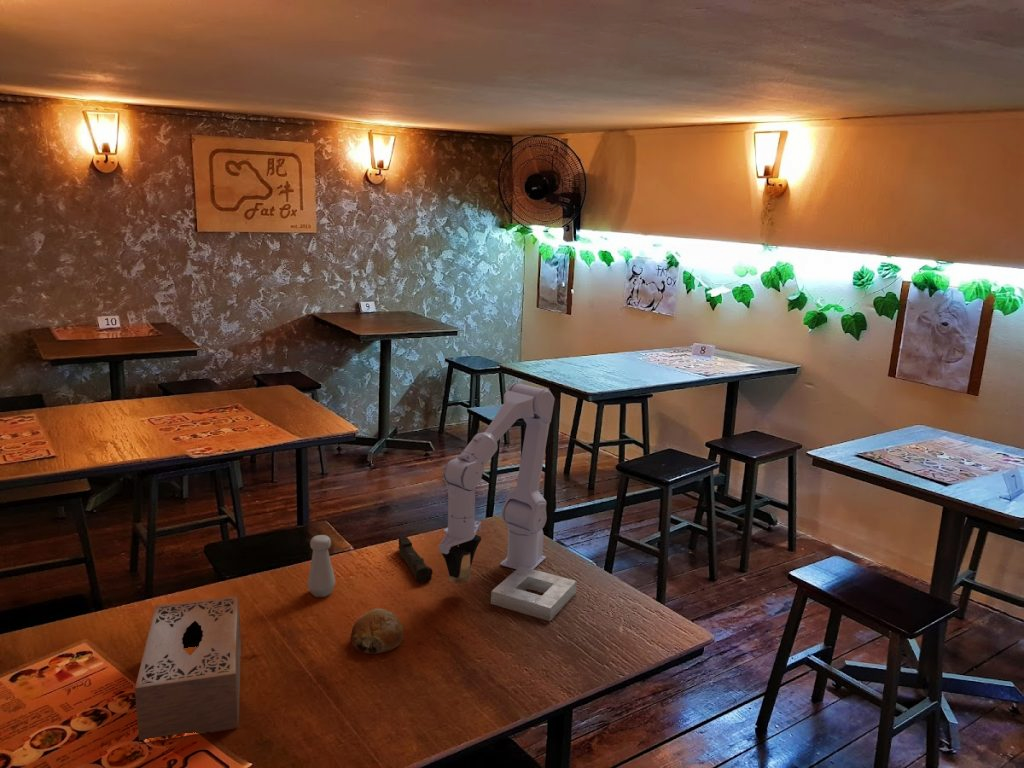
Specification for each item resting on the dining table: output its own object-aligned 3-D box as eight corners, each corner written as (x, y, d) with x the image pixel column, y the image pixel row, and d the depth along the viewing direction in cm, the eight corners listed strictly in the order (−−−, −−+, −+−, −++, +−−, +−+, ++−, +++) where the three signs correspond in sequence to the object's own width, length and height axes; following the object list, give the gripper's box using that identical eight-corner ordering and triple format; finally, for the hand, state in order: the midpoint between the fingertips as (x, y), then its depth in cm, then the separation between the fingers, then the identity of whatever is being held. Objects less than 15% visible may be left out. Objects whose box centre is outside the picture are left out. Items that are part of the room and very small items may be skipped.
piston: (456, 572, 169) (457, 547, 167) (473, 577, 167) (474, 552, 165) (446, 580, 165) (446, 554, 163) (463, 585, 163) (463, 559, 161)
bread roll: (406, 662, 147) (420, 622, 148) (367, 660, 139) (382, 618, 140) (375, 641, 153) (388, 603, 154) (336, 639, 146) (350, 599, 147)
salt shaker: (340, 591, 166) (340, 536, 163) (321, 602, 161) (320, 545, 158) (321, 583, 169) (321, 529, 166) (302, 594, 164) (300, 538, 161)
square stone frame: (520, 577, 175) (520, 565, 174) (575, 593, 169) (576, 580, 168) (491, 603, 163) (491, 591, 162) (549, 621, 157) (550, 608, 156)
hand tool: (432, 583, 172) (433, 564, 171) (415, 585, 170) (416, 566, 169) (411, 549, 189) (411, 531, 188) (395, 551, 187) (395, 533, 186)
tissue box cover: (158, 654, 140) (155, 605, 138) (241, 643, 145) (238, 595, 143) (139, 745, 117) (134, 688, 114) (238, 728, 121) (235, 673, 119)
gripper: (462, 499, 170) (461, 554, 173) (427, 521, 158) (426, 580, 161) (489, 505, 167) (488, 562, 170) (455, 528, 155) (454, 588, 158)
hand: (460, 571), depth 165 cm, fingers closed on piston, 4 cm apart
